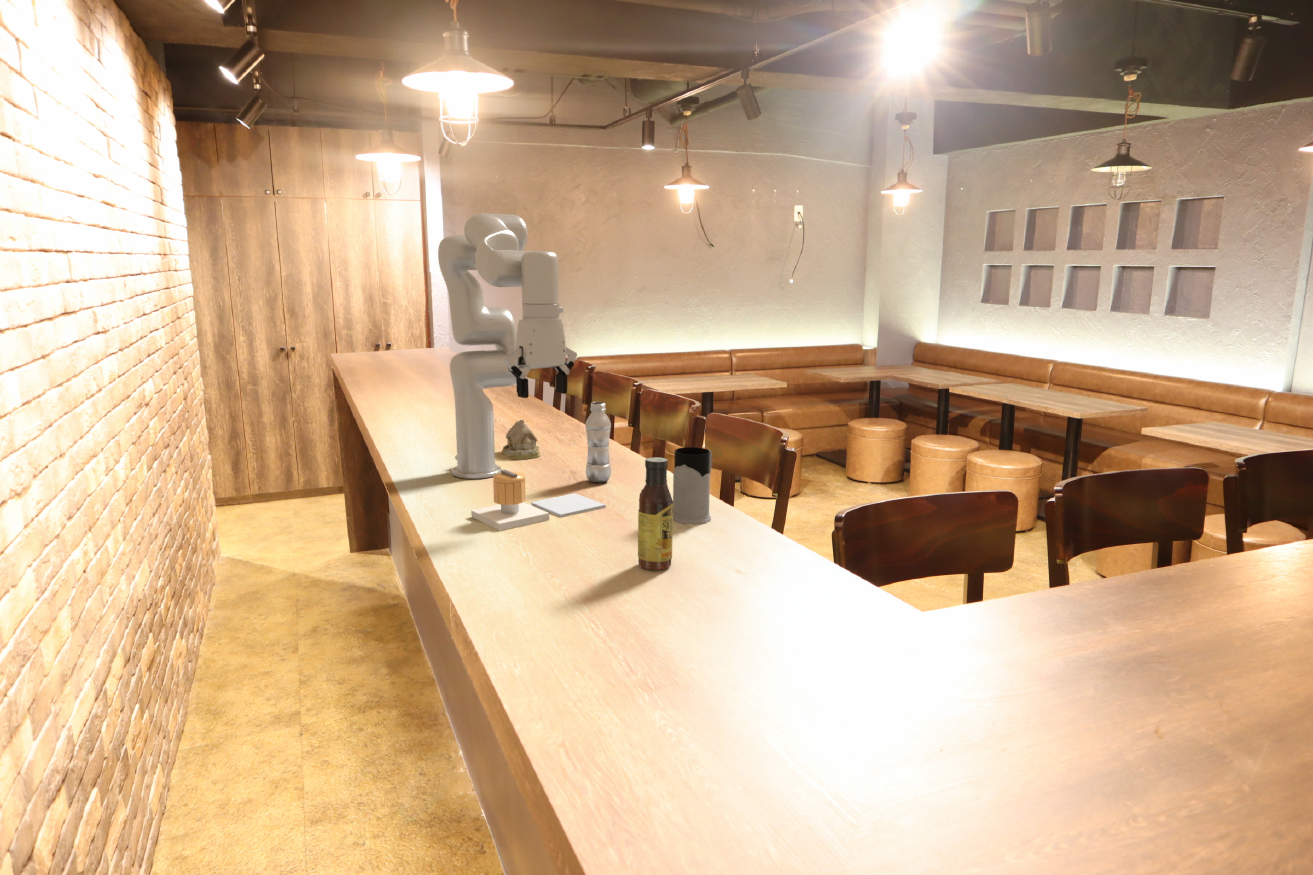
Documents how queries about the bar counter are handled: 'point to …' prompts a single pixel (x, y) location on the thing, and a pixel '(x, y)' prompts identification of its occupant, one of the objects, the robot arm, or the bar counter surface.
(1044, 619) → the bar counter surface
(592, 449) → the plastic bottle
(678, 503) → the glass holder
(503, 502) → the knob
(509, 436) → the ceramic model
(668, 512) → the sauce bottle
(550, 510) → the mat
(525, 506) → the post block
